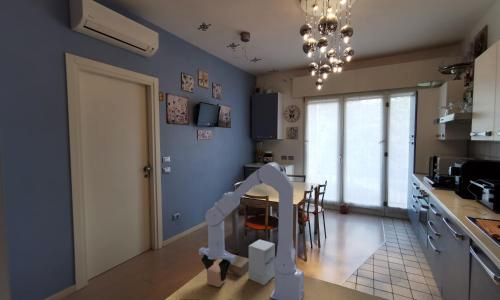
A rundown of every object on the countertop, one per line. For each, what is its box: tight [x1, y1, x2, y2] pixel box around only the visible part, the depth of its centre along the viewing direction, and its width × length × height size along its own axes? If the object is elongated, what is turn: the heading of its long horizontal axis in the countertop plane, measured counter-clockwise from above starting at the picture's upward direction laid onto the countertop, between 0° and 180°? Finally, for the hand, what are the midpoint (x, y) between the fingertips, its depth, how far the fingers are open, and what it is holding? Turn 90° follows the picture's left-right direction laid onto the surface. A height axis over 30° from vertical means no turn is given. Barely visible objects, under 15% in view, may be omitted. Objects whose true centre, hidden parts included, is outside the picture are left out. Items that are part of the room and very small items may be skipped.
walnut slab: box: [227, 254, 249, 278], centre depth 93 cm, size 8×7×4 cm
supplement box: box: [248, 239, 276, 286], centre depth 88 cm, size 7×7×13 cm
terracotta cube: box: [206, 262, 228, 288], centre depth 84 cm, size 5×5×5 cm
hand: (217, 277), depth 84 cm, fingers closed on terracotta cube, 5 cm apart
